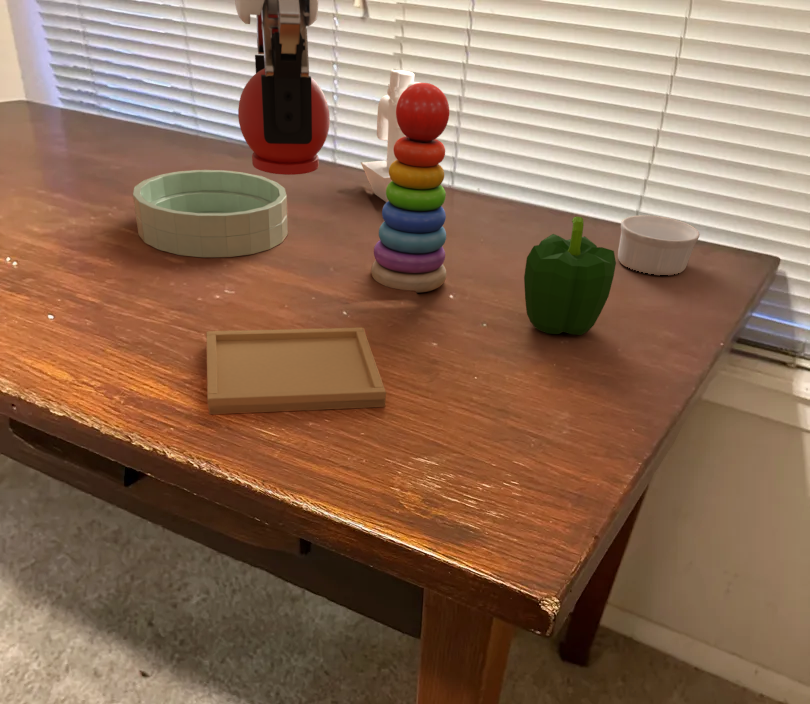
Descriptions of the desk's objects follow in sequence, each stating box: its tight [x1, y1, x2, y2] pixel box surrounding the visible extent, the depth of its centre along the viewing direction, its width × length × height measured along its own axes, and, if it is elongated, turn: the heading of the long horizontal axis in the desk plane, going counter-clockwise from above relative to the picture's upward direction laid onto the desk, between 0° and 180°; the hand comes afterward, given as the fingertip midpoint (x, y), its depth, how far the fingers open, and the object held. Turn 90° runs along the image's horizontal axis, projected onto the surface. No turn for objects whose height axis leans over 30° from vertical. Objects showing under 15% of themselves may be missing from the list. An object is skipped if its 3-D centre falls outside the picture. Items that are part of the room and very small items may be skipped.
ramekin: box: [617, 214, 701, 276], centre depth 94 cm, size 9×9×4 cm
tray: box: [205, 327, 387, 415], centre depth 69 cm, size 14×12×1 cm
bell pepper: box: [523, 216, 617, 336], centre depth 77 cm, size 8×8×10 cm
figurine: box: [360, 68, 421, 203], centre depth 105 cm, size 7×9×15 cm
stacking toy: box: [370, 82, 450, 294], centre depth 81 cm, size 8×8×19 cm
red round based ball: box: [237, 68, 331, 176], centre depth 57 cm, size 6×6×7 cm
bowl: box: [132, 169, 289, 258], centre depth 92 cm, size 17×17×5 cm
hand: (283, 127), depth 58 cm, fingers closed on red round based ball, 6 cm apart
